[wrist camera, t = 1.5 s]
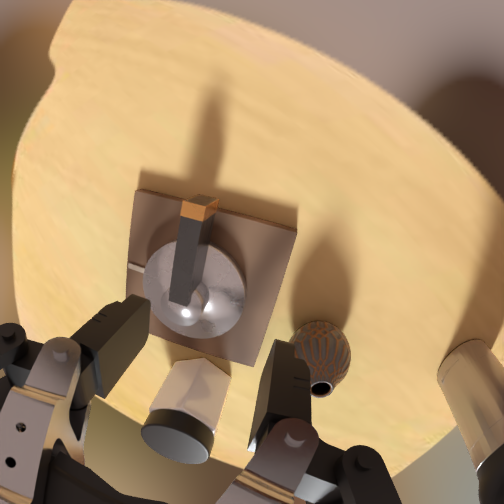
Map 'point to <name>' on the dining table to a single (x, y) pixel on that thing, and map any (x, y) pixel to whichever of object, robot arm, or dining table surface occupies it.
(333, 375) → the vase
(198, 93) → the dining table surface
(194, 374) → the jar
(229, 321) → the knob
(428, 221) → the dining table surface
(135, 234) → the base
